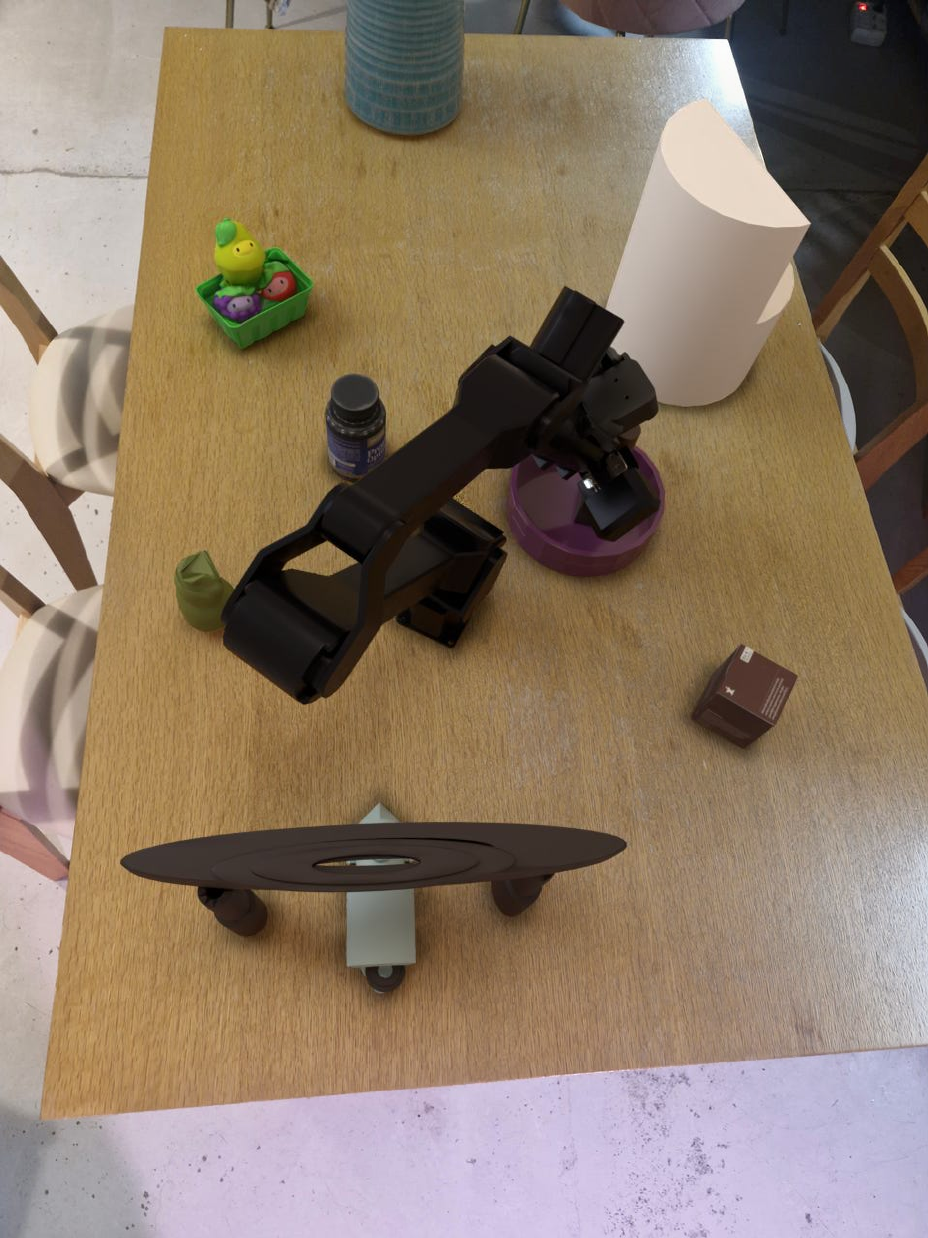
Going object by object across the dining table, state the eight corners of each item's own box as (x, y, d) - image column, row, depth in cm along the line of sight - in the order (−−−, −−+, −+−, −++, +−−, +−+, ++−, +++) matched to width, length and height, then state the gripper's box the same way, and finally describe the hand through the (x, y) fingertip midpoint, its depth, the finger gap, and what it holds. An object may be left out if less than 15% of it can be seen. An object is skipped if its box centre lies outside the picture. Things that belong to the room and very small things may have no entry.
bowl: (620, 602, 88) (632, 582, 84) (480, 536, 90) (484, 513, 85) (673, 488, 95) (686, 464, 90) (541, 428, 96) (548, 402, 92)
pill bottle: (377, 488, 91) (377, 423, 81) (322, 476, 91) (315, 409, 81) (391, 443, 94) (392, 374, 84) (337, 431, 94) (332, 361, 84)
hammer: (610, 530, 91) (644, 457, 79) (573, 522, 91) (602, 448, 79) (617, 485, 93) (651, 408, 82) (581, 477, 93) (611, 399, 82)
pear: (176, 603, 83) (152, 553, 74) (227, 581, 85) (210, 529, 76) (199, 650, 81) (177, 603, 72) (251, 626, 83) (236, 578, 74)
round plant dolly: (128, 736, 56) (617, 726, 59) (191, 808, 75) (559, 798, 78) (96, 997, 49) (650, 969, 53) (174, 1004, 68) (577, 983, 72)
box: (743, 752, 82) (775, 728, 75) (687, 718, 83) (714, 692, 76) (767, 702, 84) (800, 675, 78) (713, 670, 85) (741, 641, 79)
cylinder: (635, 420, 98) (713, 241, 76) (575, 302, 105) (629, 107, 83) (775, 389, 102) (888, 210, 80) (708, 277, 109) (794, 85, 87)
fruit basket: (239, 362, 96) (222, 284, 86) (194, 314, 99) (173, 233, 89) (320, 317, 100) (313, 238, 90) (275, 273, 103) (264, 191, 93)
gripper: (675, 448, 67) (738, 488, 79) (569, 282, 73) (642, 343, 86) (566, 531, 72) (641, 556, 84) (476, 368, 78) (559, 414, 91)
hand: (622, 464), depth 86 cm, fingers closed on hammer, 2 cm apart
